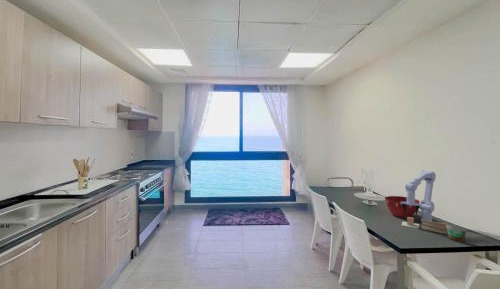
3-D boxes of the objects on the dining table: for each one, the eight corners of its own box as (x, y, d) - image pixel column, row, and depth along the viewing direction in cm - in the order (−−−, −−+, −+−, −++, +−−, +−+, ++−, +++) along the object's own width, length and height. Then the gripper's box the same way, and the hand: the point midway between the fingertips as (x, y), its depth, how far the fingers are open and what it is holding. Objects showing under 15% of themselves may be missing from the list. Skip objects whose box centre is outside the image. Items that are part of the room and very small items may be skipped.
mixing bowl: (418, 222, 214) (419, 204, 214) (381, 216, 232) (382, 199, 231) (420, 214, 237) (420, 198, 237) (386, 209, 254) (387, 194, 254)
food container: (441, 237, 181) (442, 223, 181) (447, 236, 183) (447, 222, 183) (461, 244, 169) (461, 229, 169) (466, 242, 171) (467, 228, 171)
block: (407, 223, 210) (407, 216, 210) (413, 224, 208) (413, 217, 208) (407, 224, 207) (407, 218, 207) (413, 225, 204) (413, 219, 204)
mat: (402, 221, 216) (402, 221, 216) (419, 224, 209) (419, 224, 209) (401, 225, 206) (401, 225, 206) (418, 228, 199) (418, 228, 199)
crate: (422, 224, 208) (422, 220, 208) (449, 229, 198) (449, 224, 197) (421, 229, 197) (421, 224, 197) (451, 234, 187) (451, 229, 187)
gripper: (400, 197, 208) (400, 213, 208) (421, 199, 199) (421, 216, 200) (401, 195, 214) (400, 211, 214) (421, 198, 205) (421, 214, 205)
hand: (410, 213), depth 207 cm, fingers open, 7 cm apart
